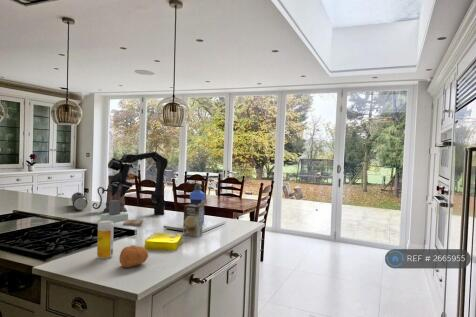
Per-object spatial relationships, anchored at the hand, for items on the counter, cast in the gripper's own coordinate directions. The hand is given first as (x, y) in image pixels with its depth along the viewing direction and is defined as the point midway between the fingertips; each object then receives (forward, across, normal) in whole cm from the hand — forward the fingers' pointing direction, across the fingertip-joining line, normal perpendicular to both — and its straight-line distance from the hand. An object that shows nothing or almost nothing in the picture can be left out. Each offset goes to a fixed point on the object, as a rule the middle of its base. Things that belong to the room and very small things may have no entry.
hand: (116, 196), depth 204 cm
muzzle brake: (+11, -56, +7) cm, 57 cm away
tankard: (+9, -29, +16) cm, 35 cm away
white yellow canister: (+30, +59, -33) cm, 74 cm away
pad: (+14, +15, +7) cm, 22 cm away
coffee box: (+14, +58, +15) cm, 62 cm away
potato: (+30, +75, -30) cm, 86 cm away
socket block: (+14, -1, +4) cm, 15 cm away
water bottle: (+6, +40, +34) cm, 53 cm away
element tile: (+22, +63, -6) cm, 67 cm away
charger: (+14, -1, +4) cm, 14 cm away
